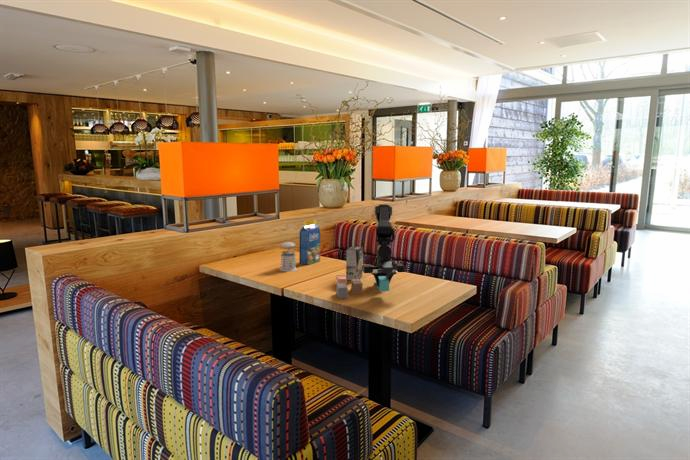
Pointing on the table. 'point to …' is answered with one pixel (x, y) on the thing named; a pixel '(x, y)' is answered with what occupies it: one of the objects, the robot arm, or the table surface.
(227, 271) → the table surface
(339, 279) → the terracotta brick
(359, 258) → the coffee box
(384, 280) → the teal brick
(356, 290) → the walnut brick
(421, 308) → the table surface
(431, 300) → the table surface
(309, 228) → the blue food package
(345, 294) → the charcoal brick
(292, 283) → the table surface
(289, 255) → the french press
